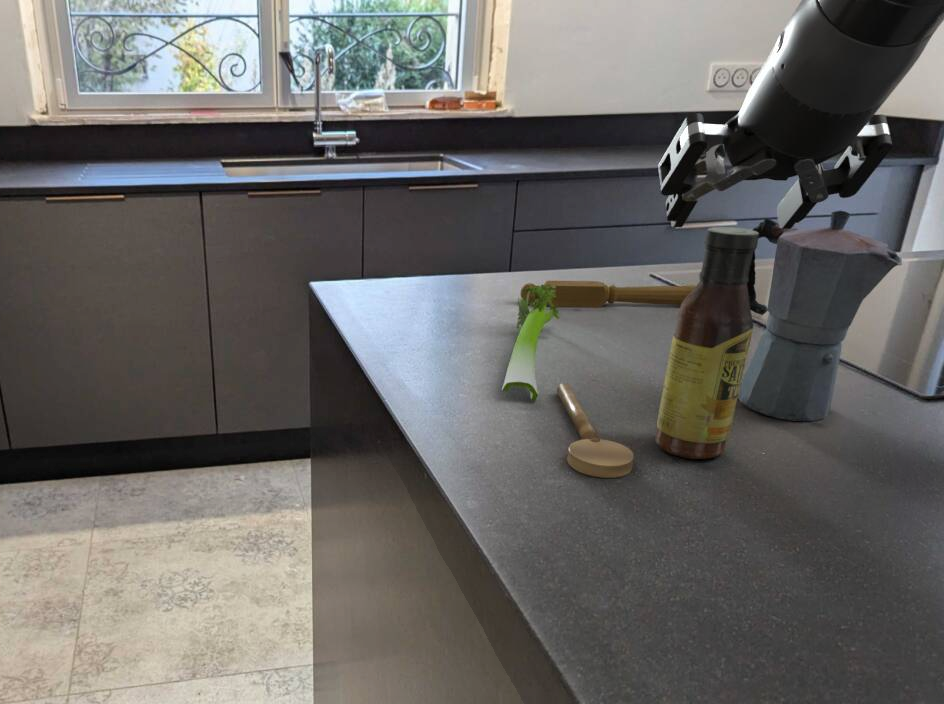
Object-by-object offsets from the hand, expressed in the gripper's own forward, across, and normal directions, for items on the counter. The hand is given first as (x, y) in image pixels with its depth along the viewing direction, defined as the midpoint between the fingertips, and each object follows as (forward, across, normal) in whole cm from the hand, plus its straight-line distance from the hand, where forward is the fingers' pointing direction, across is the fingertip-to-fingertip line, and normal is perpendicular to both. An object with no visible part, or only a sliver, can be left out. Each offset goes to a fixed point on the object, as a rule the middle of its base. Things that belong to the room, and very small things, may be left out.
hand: (728, 218), depth 66 cm
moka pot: (+24, +14, -6) cm, 29 cm away
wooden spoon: (+18, -8, -11) cm, 23 cm away
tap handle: (+52, +8, +21) cm, 56 cm away
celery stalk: (+34, -9, +4) cm, 35 cm away
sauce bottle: (+16, +1, -14) cm, 21 cm away
